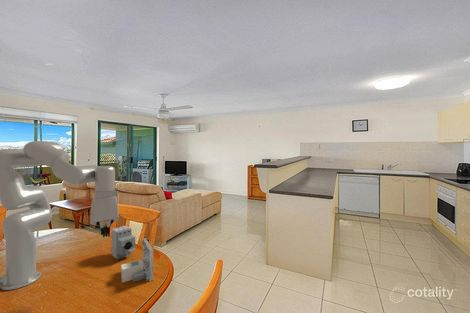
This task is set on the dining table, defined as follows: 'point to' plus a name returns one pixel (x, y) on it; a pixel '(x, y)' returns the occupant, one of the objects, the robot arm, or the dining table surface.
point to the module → (131, 270)
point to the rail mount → (146, 263)
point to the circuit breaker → (122, 242)
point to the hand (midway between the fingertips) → (105, 235)
